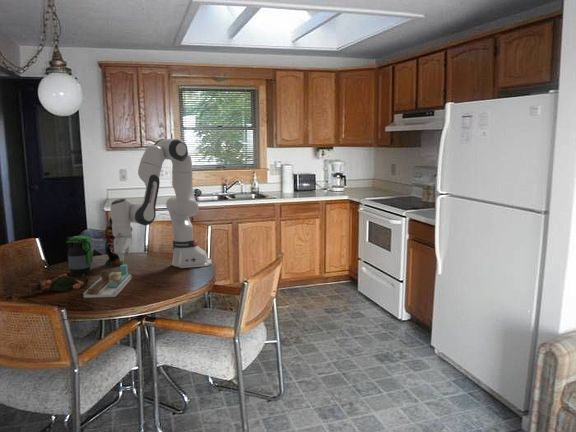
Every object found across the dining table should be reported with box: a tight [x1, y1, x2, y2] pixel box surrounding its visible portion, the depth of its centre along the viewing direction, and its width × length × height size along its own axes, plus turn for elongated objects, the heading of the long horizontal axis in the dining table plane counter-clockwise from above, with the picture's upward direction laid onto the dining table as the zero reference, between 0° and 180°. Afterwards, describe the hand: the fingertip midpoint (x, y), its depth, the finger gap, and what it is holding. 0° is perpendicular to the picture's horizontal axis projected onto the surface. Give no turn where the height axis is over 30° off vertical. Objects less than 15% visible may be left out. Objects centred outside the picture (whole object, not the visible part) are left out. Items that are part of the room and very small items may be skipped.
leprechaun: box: [28, 273, 89, 293], centre depth 218 cm, size 11×10×25 cm
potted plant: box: [65, 235, 94, 276], centre depth 245 cm, size 11×13×20 cm
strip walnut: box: [87, 269, 110, 294], centre depth 218 cm, size 4×20×6 cm, turn 4°
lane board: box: [82, 274, 132, 299], centre depth 222 cm, size 14×28×2 cm, turn 4°
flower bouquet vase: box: [104, 216, 126, 268], centre depth 261 cm, size 15×15×30 cm
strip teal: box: [109, 264, 130, 287], centre depth 227 cm, size 4×20×6 cm, turn 4°
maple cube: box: [109, 271, 122, 284], centre depth 221 cm, size 4×4×4 cm
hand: (124, 257), depth 235 cm, fingers open, 8 cm apart
